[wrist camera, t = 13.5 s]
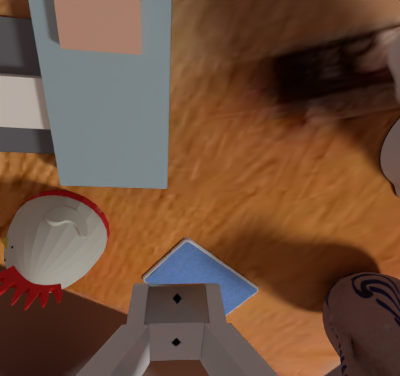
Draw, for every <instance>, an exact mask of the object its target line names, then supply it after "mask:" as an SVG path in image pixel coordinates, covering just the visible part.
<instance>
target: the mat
mask: <svg viewBox="0 0 400 376" xmlns="http://www.w3.org/2000/svg"><path fill="white" fill-rule="evenodd" d="M0 73H3V74H17V75H31V76H41V70H40V64H39V59H38V53H37V47H36V41H35V36H34V30H33V24H32V19H21V18H10V17H0ZM0 152H24V153H47V154H55V151H54V145H53V140H52V134H51V130H50V129H31V128H12V127H0Z"/></svg>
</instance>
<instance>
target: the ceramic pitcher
mask: <svg viewBox="0 0 400 376" xmlns="http://www.w3.org/2000/svg"><path fill="white" fill-rule="evenodd" d="M323 324H324V328H325V331H326V334H327V337H328V339H329V341H330V342H331V344H332V346H333V347H334V349H335V351H336V352H337V354H338V355H339V357H340V360H341V370H342V376H400V280H399V279H397V278H394V277H391V276H388V275H384V274H380V273H374V272H362V273H357V274H353V275H349V276H347V277H344V278H341V279H340V280H338V282H337V283H336V284H334V286H333V287H332V288H331V289H330V291H329V292H328V294H327V296H326V298H325V301H324V304H323Z"/></svg>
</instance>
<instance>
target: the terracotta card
mask: <svg viewBox="0 0 400 376" xmlns="http://www.w3.org/2000/svg"><path fill="white" fill-rule="evenodd" d="M54 5H55V13H56V20H57V27H58V34H59V42H60V49H70V50H83V51H96V52H109V53H122V54H135V55H142V11H141V0H54Z"/></svg>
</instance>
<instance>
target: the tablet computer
mask: <svg viewBox="0 0 400 376" xmlns="http://www.w3.org/2000/svg"><path fill="white" fill-rule="evenodd" d="M143 281H144V282H145V283H147V284H149V283H154V284H190V283H204V284H205V283H218V284H219V285H220V290H221V295H222V301H223V306H224V312H225V316H226V315H228V314H229V313H230V312H231V311H233V310H234V309H235V308H237V307H238V306H240V305H241V304H242V303H243V302H245V301H246V300H248V299H249V298H250V297H251V296H253V295H254V294H256V293H257V292H258V286H256V285H255V284H253V283H252V282H250V281H249V280H248V279H246V278H245V277H243V276H242V275H240V274H239V273H238V272H236V271H235V270H233V269H232V268H231V267H229V266H228V265H226V264H225V263H224V262H222V261H221V260H219V259H218V258H216V257H215V256H214V255H213V254H211V253H210V252H208V251H207V250H206V249H204V248H203V247H201V246H200V245H199V244H197V243H196V242H194V241H193V240H192V239H190V238H185V239H183V240H182V241H181V242H180V243H179V244H178V245H177V246H175V247H174V248H173V249H172V250H171V251H170V252H169V253H168V254H167V255H166V256H165V257H163V258H162V259H161V260H160V261H159V262H158V263H157V264H156V265H155V266H154V267H153V268H151V269H150V270H149V271H148V272H147V273H146V274H145V275H144V276H143Z"/></svg>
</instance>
